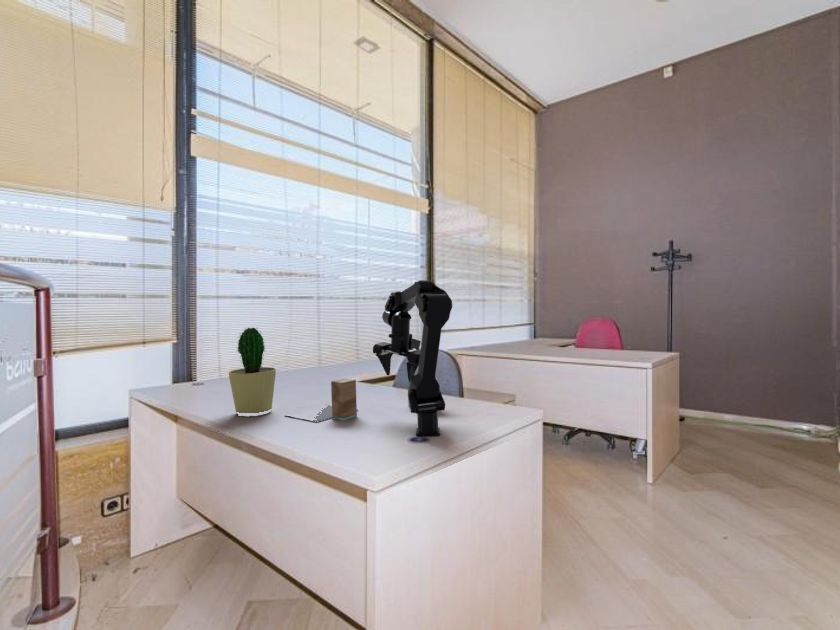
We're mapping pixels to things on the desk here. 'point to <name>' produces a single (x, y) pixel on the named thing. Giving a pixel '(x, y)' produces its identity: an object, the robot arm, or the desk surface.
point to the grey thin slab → (324, 414)
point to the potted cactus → (252, 376)
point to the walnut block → (343, 399)
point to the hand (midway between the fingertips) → (398, 378)
